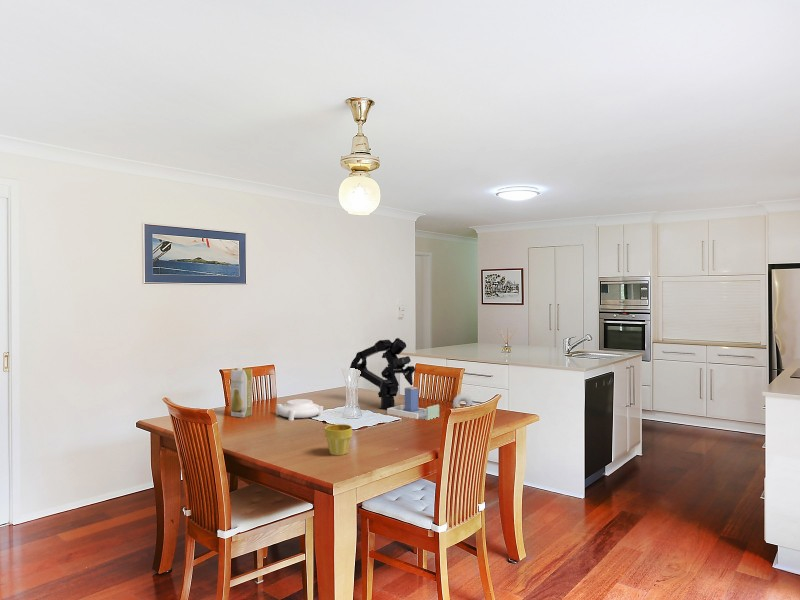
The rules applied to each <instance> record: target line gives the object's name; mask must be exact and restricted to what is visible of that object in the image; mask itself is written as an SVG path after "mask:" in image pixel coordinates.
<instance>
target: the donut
mask: <svg viewBox="0 0 800 600" xmlns="http://www.w3.org/2000/svg"><path fill="white" fill-rule="evenodd" d="M462 401H463V402H465V405H464V406H463V407H465V406H470V405H472V406H473V400H472V398H471V397H470V395H468V394H465V393H461V394H460V393H459V394H457V395H456V396H455V397H454V399H453V401H452V407H453V409H454V408H455V407H462V406H461V405H460V403H461V402H462Z"/></svg>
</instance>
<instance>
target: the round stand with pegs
mask: <svg viewBox="0 0 800 600" xmlns="http://www.w3.org/2000/svg"><path fill="white" fill-rule="evenodd" d="M276 415H278V416H279V415H280V416H281V417H285V418H288V421H294V420H295V419H303V418H304V419H306V418H312V417H315V416H317V417H318V416H323V417H324V406H322V405H319V404H317V403H314V402H313V400H311V399H306V398H305V399H304V398H298V399H291V400H290V399H289V400H287V401H286V403H285V404H282V403H277V404H276Z"/></svg>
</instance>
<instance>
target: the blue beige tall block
mask: <svg viewBox="0 0 800 600" xmlns="http://www.w3.org/2000/svg"><path fill="white" fill-rule="evenodd" d="M404 405H405V411H408V412H415V411H418V408H419V388H418V387H416V386H406V387H404Z"/></svg>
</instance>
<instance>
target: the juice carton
mask: <svg viewBox="0 0 800 600" xmlns="http://www.w3.org/2000/svg"><path fill="white" fill-rule="evenodd" d="M252 414H253V369H252V368H243V366H237V367H236V368H232V369H231V371H230V416H231V417H234V418H235V417H237V418H247V417H250V416H252Z"/></svg>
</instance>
